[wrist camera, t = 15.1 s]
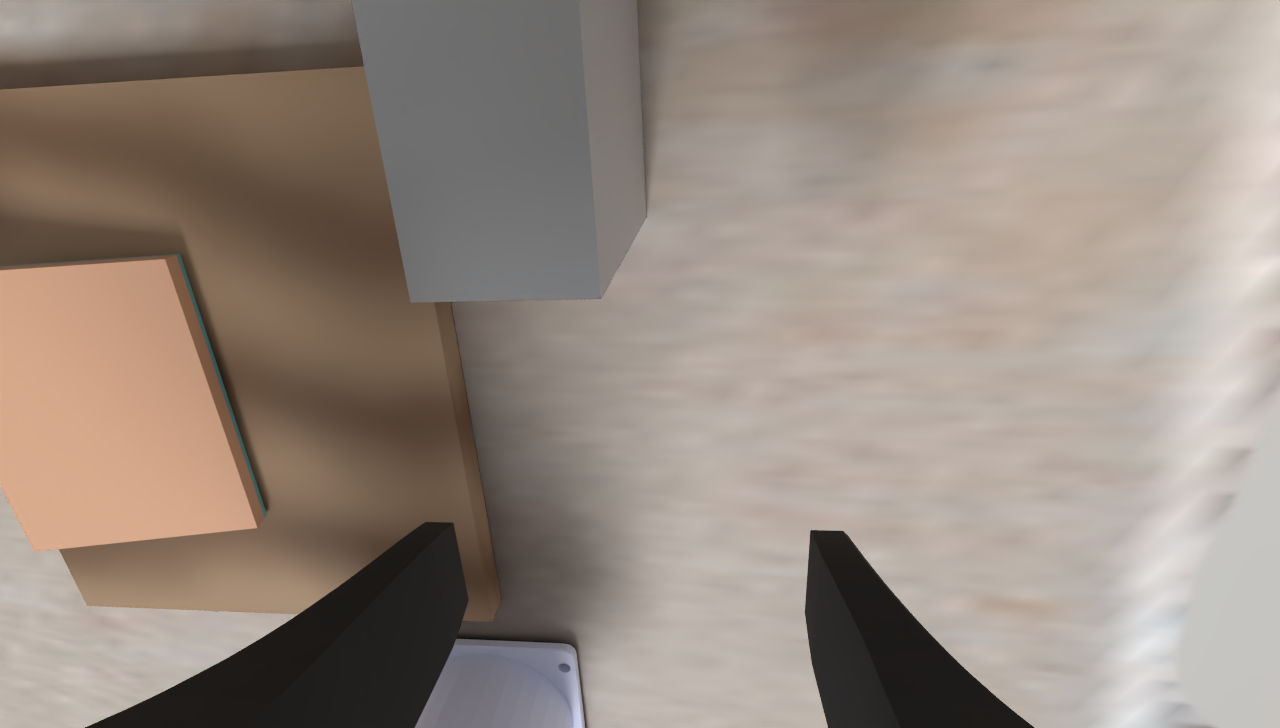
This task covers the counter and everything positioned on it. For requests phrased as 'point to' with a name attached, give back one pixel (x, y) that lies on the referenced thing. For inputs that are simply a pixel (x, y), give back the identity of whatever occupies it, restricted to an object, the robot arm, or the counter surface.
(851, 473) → the counter surface
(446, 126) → the grey rectangular block
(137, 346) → the tile
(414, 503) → the board
